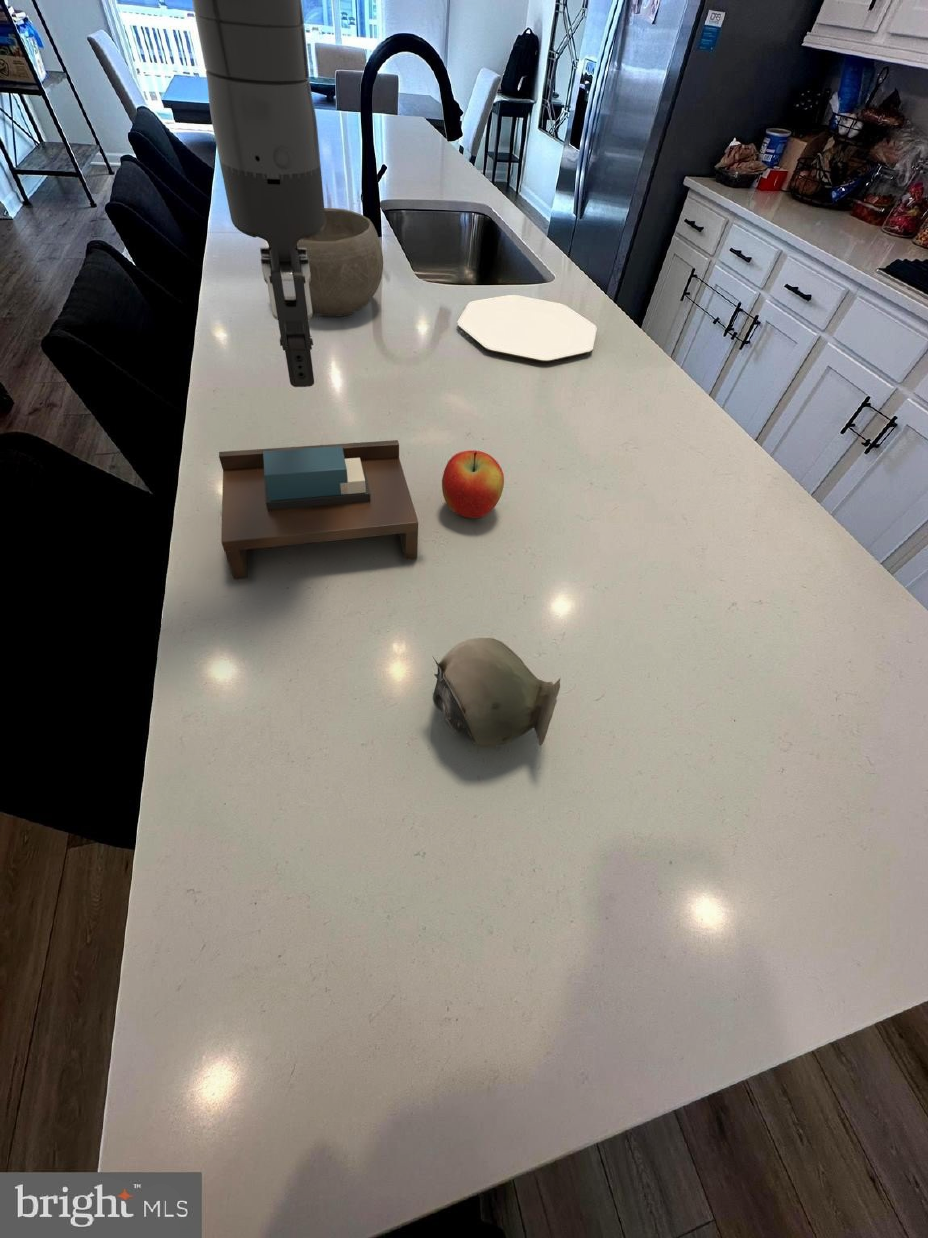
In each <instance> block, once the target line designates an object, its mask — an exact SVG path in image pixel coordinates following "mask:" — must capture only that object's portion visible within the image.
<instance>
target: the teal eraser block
mask: <svg viewBox="0 0 928 1238" xmlns="http://www.w3.org/2000/svg"><path fill="white" fill-rule="evenodd" d="M263 458H264V476H265V477H264V478H265V497H266V506H267V510H279V509H290V508H301V507H312V506H324V505H335V504H346V503H357V502H368V501H371V497H370V490H369V486H368V482H367V477H366V473H365V469H362V465H361V460H360V458H348V459H345V458H344V453H343V448H342V446H334V447H320V448H305V449H290V450H276V451H263Z"/></svg>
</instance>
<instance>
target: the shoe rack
mask: <svg viewBox="0 0 928 1238" xmlns="http://www.w3.org/2000/svg"><path fill="white" fill-rule="evenodd" d="M334 446H342V448H343V453H344V458H345V459H348V458H360V460H361V465H362V469H365V473H366V477H367V482H368V486H369V490H370V497H371V501H368V502H357V503H346V504H335V505H324V506H312V507H301V508H290V509H279V510H267V506H266V497H265V478H264V477H265V476H264V458H263V451H276V450H290V449H305V448H320V447H334ZM218 459H219V462H220V465H221V469H222V494H221V497H222V498H221V502H222V503H221V538H220V540H221V545H222V548H223V551H224V554H225V557H226V561H227V563H228V566H229V569H230V572H231V575H232V579H234V580H239V579H246V578H248V554H247V553H248V552H247V551H248V550H254V549H263V548H264V549H265V548H275V547H283V546H291V545H301V544H303V545H304V544H312V543H323V542H332V541H342V540H351V539H361V538H370V537H371V538H372V537H380V536H389V535H398V536H399V539H400V543H401V547H402V552H403V555H404V559H405V560H406V561H407V560H415V559H418V546H419V545H418V544H419V543H418V542H419V541H418V540H419V521H418V517H417V513H416V510H415V507H414V503H413V500H412V496H411V492H410V490H409V487H408V483H407V479H406V476H405V473H404V469H403V466H402V463H401V459H400V442H399V440H398V439H393V440H392V439H391V440H377V441H362V442H349V443H348V442H347V443H336V444H335V443H333V444H316V445H303V446H302V445H301V446H289V447H288V446H286V447H285V446H284V447H271V448H257V449H243V450H229V451H228V450H226V451H218Z"/></svg>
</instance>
